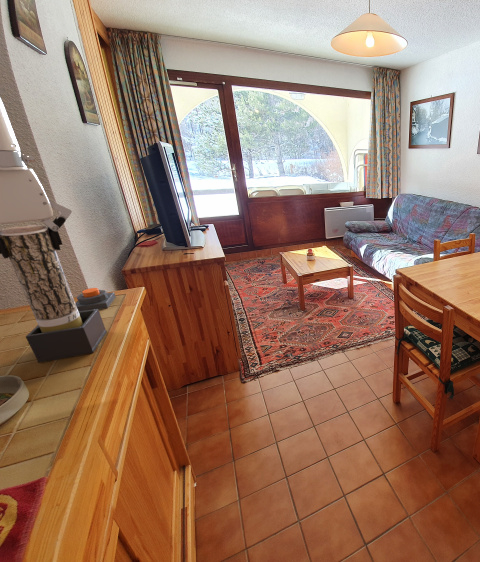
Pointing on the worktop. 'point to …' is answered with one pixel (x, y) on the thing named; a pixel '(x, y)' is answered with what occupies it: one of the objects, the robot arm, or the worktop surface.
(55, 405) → the worktop surface
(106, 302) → the block
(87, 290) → the release button
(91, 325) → the dock
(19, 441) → the worktop surface
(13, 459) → the worktop surface
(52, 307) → the bark log cylinder
